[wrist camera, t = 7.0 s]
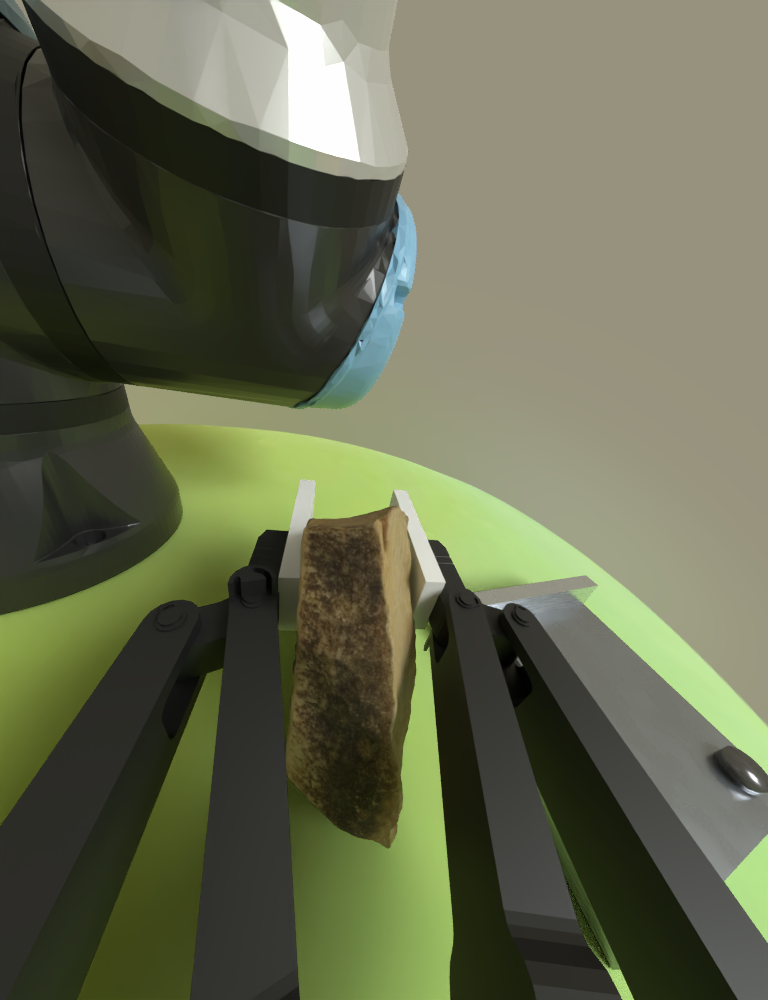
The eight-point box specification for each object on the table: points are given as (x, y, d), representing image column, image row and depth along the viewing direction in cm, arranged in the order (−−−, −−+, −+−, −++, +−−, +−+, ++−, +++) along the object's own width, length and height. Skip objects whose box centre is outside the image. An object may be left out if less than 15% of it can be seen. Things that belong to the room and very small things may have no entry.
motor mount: (437, 631, 18) (454, 595, 17) (562, 605, 23) (585, 575, 21) (612, 969, 9) (694, 967, 7) (766, 812, 13) (840, 788, 12)
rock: (304, 520, 18) (135, 602, 9) (421, 463, 16) (359, 495, 6) (375, 661, 19) (290, 878, 9) (500, 631, 16) (554, 894, 7)
